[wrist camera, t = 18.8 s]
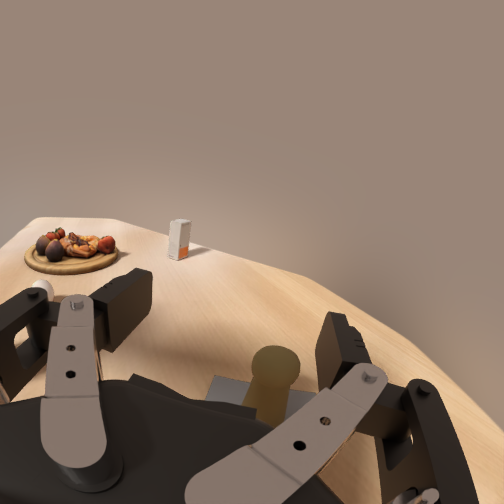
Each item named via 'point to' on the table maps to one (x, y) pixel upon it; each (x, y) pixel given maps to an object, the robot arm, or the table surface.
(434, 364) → the table surface
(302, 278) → the table surface
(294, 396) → the slate tile
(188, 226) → the skincare box
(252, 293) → the table surface
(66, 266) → the wooden plate with food
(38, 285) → the white egg
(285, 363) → the cork
